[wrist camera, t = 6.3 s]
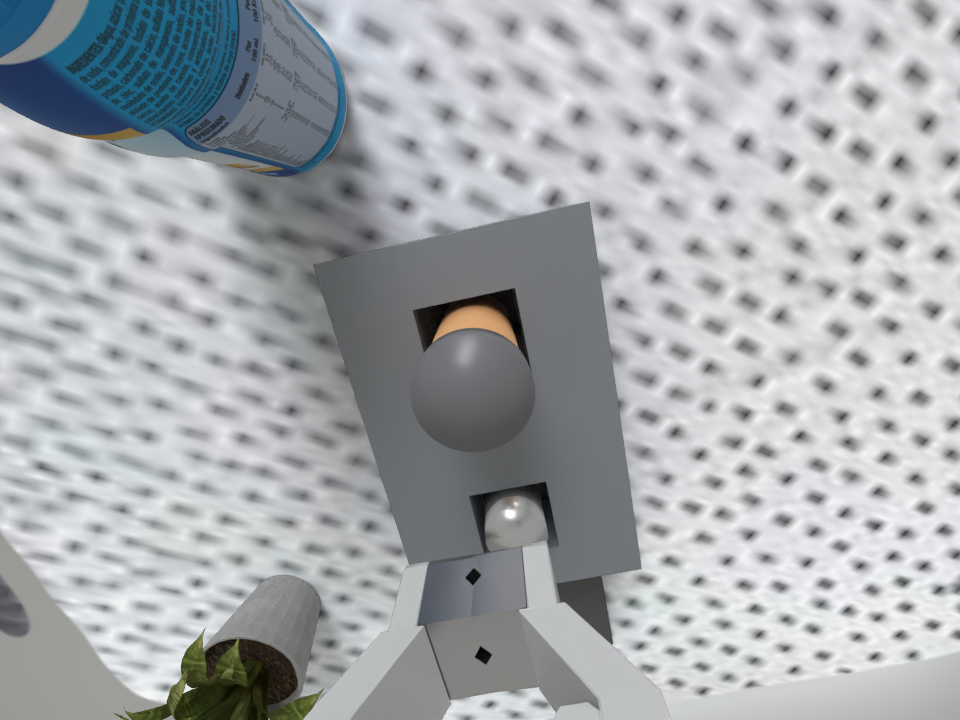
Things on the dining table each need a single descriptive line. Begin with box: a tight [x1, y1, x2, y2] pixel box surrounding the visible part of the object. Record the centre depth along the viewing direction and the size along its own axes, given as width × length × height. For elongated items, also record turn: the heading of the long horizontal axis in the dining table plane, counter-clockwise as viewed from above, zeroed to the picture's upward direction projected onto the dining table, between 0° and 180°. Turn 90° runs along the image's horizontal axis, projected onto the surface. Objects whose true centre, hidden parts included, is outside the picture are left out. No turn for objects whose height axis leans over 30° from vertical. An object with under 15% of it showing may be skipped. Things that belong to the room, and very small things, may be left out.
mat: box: [556, 576, 613, 644], centre depth 35 cm, size 10×10×1 cm
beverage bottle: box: [0, 0, 347, 177], centre depth 16 cm, size 8×8×20 cm
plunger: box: [485, 483, 548, 552], centre depth 29 cm, size 4×4×6 cm
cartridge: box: [410, 294, 535, 452], centre depth 23 cm, size 5×5×12 cm
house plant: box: [115, 575, 323, 720], centre depth 28 cm, size 14×14×16 cm
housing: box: [313, 202, 642, 583], centre depth 28 cm, size 22×14×5 cm, turn 12°
